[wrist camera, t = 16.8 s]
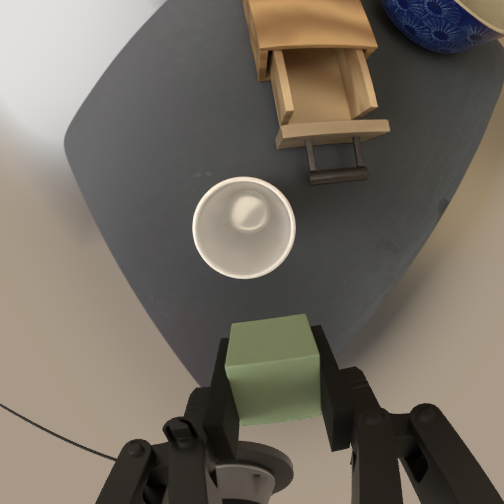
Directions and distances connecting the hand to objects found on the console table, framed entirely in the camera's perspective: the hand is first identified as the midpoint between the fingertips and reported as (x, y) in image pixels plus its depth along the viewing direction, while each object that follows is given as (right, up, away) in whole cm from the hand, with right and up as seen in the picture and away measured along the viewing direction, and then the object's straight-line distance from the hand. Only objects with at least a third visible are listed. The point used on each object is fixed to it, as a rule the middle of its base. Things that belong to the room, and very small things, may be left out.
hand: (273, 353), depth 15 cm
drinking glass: (-1, +10, +18) cm, 20 cm away
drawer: (+6, +22, +14) cm, 27 cm away
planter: (+23, +40, +11) cm, 48 cm away
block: (0, 0, 0) cm, 0 cm away
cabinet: (+4, +33, +12) cm, 36 cm away
